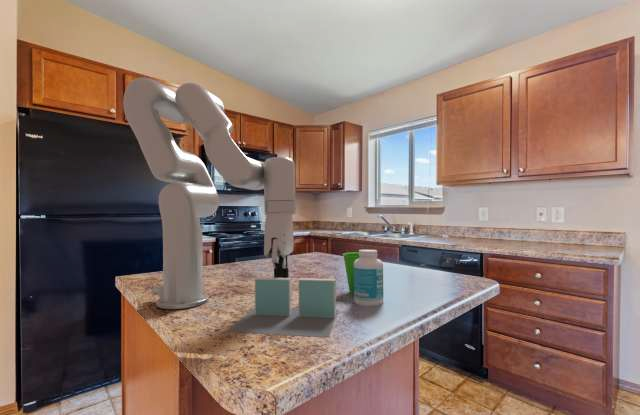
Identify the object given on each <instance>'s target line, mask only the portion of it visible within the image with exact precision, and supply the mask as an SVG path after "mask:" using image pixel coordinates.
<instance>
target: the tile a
mask: <svg viewBox="0 0 640 415" xmlns="http://www.w3.org/2000/svg"><path fill="white" fill-rule="evenodd" d="M254 308H255V315H278V316H290V315H291V308H292V278H291V277H289V278H274V277H267V276H266V277H264V276H262V277H259V276H257V277H255V278H254Z"/></svg>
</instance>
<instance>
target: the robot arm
mask: <svg viewBox="0 0 640 415" xmlns="http://www.w3.org/2000/svg"><path fill="white" fill-rule="evenodd" d="M122 101H123V102H122V104H123V106H122V107H123V112H124V115H125V117H126V120H127V123H128V124H129V126H130V129H131V130H132V132H133V133H134V135H135V138H136V139H137V142H138V144H139V147H140V150H141V151H142V155H143V156H144V159H145V161H146V163H147V165H148V167H149V170H150V172H151V173H152V174H151V175H152V176H154V178H155V179H157V180H159V181H161V182H165V183H168V184H166V185H165V186H164V187H162V189H161V190H160V192H159V195H158V209H159V213H160V218H161V224H162V226H161V227H162V261H163V262H162V277H163V278H162V285H154V286H153V287H152V289H151V290H150V295H155V296H156V295H158V296H159V298H158V299H157V300H156V302H155V303H156V304H155V305H156V307H158V308H160V309H164V310H181V309H188V308H193V307H194V308H195V307H197V306H201V305H203V304H206V303H207V302H208V301H209V299H210V295H209V294H208V293H206V292H204V290H203V289H204V288H203V286H204V284H203V282H204V281H203V280H204V276H203V272H204V270H203V269H204V268H203V266H204V265H203V261H204V260H203V258H204V257H203V230H202V226H201V223H200V220H199V219H200V218H207V217H211V216H212V215H215V213H216V212H217V211H218V209H219V205H220V198H219V193H218V191H217V188H216V186H215V184H214V182H213V180H212V178H211V176H210V174H209V171H208V170H207V167H206V165H205V163H204V162H203V161H202V159H201V158H200V157H198V155H196V154H194V153H192V152H189V151H186V150H183V149H181V148H180V146H178V145H177V143H176V141H175V138H174V137H173V133H172V132H171V130H170V129H169V127H168V126H167V124H166V123H165V122H164V121H163V120H162V119H165V120H167V121H169V122H173V123H175V124H183V125H185V124H186V125H191V126H192V127H193V128H194V130H195V131H196V133H197V134H198V136H199V137H200V138H201V140H202V141H203V146H204V150H205V151H204V152H205V155H206V156H207V159H208V160H209V162H210V164H211V165H212V166H213V168H215V170H216V172H217V173H218V174H219V175H220V176H221V178H222V179H223V180H224V181H225V182H226V183H228V184H229V185H230V186H232V187H234V188H239V189H245V190H251V191H259V190H263V193H264V194H263V198H264V205H263V206H264V207H263V208H264V215H265V220H264V236H263V237H264V238H263V240H264V242H263V243H264V244H263V255H264V256H265V257H266V258H268V257H271V263H273V278H290V277H289V276H290V272H289V264H290V263H289V262H290V261H289V257H290V254H292V252H294V242H295V241H294V224H293V223H294V222H293V215H297V214H296V212H297V210H296V205H297V204H296V166H295V162H294V160H293V159H292V158H290V157H286V156H285V157H284V156H275V157H268V158H267V159H265V160H264V161H260V160H257V159H254V158H251V157H249V156H246V155H245V154H244V152H243V151H242V150H241V149H240V147H239V146H238V145H237V144H236V142H235V141H234V140H233V138H232V137H231V135H232V133H233V130H234V129H233V128H234V126H233V123H232V122H231V120H230V119H229V117H228V116H227V115H226V114H225V112H226V111H225V107H224V104H223V101H222V99H220V98H219V97H218V96H217V95H215V94H214V93H212V92H211V91H209V90H208V89H206V88H205V87H203V86H201V85H200V84H197V83H193V82H187V83H183V84H181V85H180V86H178V87H177V89H176V90H174V89H172V88H170V87H169V86H167V85H165V84H164V83H161V82H159V81H157V80H156V79H155V80H154V79H152V78H148V77H137V78H135V79H132V80H131V81H130V82H129V83H128V85H127V86H126V88H125V91H124V93H123V100H122Z"/></svg>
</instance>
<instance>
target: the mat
mask: <svg viewBox="0 0 640 415" xmlns="http://www.w3.org/2000/svg"><path fill="white" fill-rule="evenodd" d="M338 312H339V309H336V317H337V315H338ZM336 317H335V318H324V317H301V316H299V307H296V308H294V307H291V315H290V316H278V315H255V307H254V308H252V309H251V310H250V311H249V312H247V313H246V314H245V315H244V316H243V317H242V318H241V317H240V319H239V320H238V321H237V322H235V323H234V324H233V325H232V326H230V327H229V328H228V329H227V330H226V331H225V333H238V334H239V333H240V334H257V335H258V334H259V335H275V336H293V337H298V336H299V337H315V338H330V335H331V332H332V330H333V327H334V323H335V320H336Z"/></svg>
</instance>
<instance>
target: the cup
mask: <svg viewBox="0 0 640 415" xmlns="http://www.w3.org/2000/svg"><path fill="white" fill-rule="evenodd" d="M342 256H343V259H344V267H345V273H346V278H347V284H348V290H349V293H350V294H353V295H354V261H355V260H357V259H359V258H360V256H359V251H358V252H354V251H353V252H344V253H342Z"/></svg>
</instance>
